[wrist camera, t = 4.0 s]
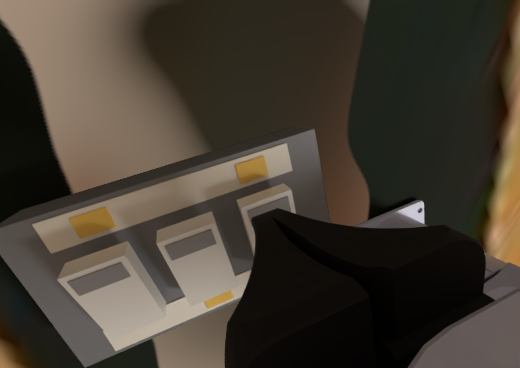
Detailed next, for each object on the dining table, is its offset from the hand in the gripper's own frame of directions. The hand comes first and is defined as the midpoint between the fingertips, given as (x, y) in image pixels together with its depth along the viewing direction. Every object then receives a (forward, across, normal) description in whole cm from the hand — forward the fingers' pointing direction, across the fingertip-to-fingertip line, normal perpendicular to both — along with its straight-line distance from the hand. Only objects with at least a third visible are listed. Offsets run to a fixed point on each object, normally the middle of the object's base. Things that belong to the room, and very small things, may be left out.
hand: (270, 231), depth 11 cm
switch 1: (+3, +8, +2) cm, 9 cm away
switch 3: (+3, -1, +2) cm, 4 cm away
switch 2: (+3, +4, +2) cm, 6 cm away
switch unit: (+8, +4, +2) cm, 9 cm away
